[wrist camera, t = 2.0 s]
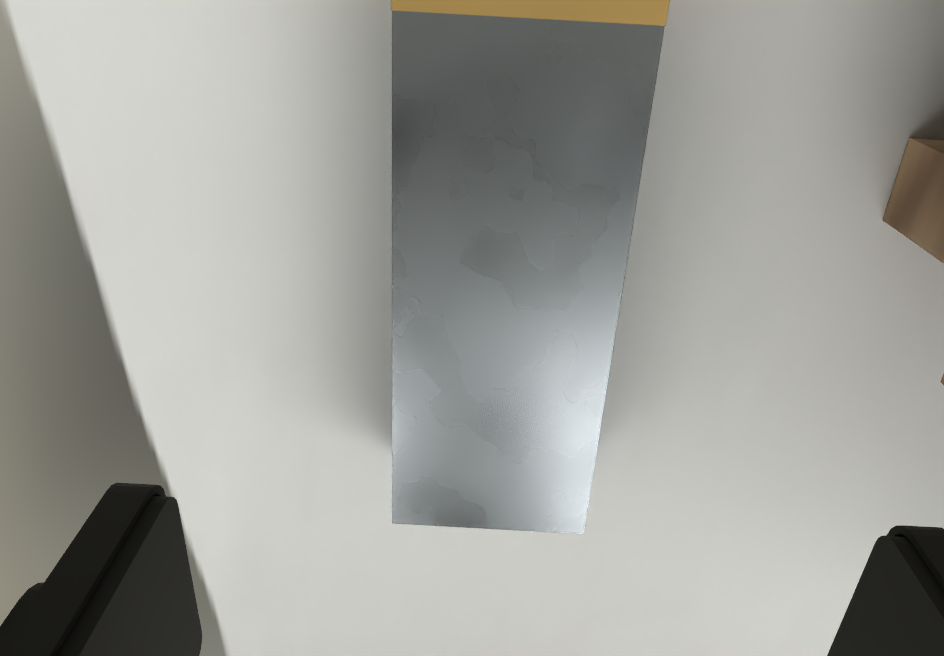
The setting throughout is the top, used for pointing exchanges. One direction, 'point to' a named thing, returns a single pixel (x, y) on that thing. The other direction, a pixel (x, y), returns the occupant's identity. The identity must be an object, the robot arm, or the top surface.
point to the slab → (510, 248)
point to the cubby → (920, 196)
